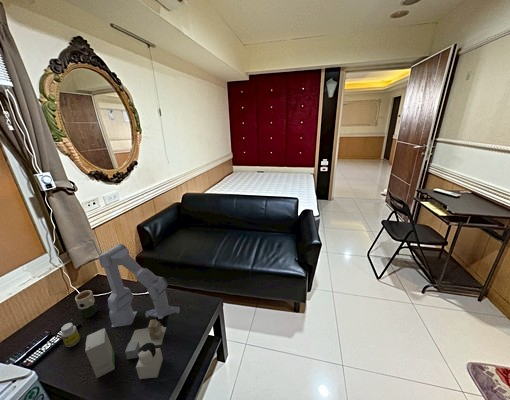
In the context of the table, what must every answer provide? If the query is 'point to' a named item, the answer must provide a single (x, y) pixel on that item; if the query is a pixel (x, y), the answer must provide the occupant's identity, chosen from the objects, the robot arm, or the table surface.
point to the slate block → (132, 350)
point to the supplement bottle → (70, 335)
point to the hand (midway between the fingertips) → (165, 325)
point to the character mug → (86, 303)
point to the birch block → (154, 329)
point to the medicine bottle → (149, 361)
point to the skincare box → (100, 352)
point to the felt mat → (146, 337)
